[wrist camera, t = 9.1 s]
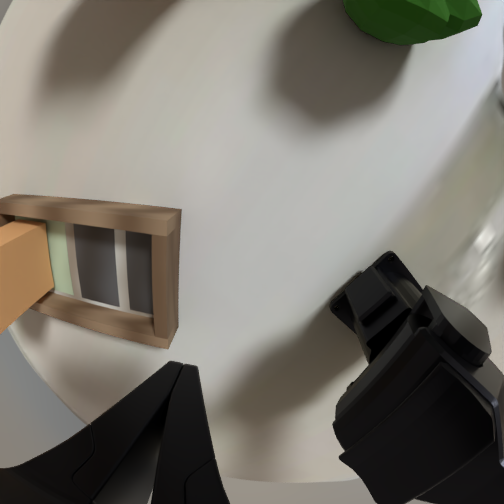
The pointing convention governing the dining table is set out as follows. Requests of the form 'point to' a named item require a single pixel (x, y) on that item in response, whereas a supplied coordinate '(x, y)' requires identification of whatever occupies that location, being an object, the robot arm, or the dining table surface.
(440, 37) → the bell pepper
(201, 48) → the dining table surface
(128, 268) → the tray
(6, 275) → the block
